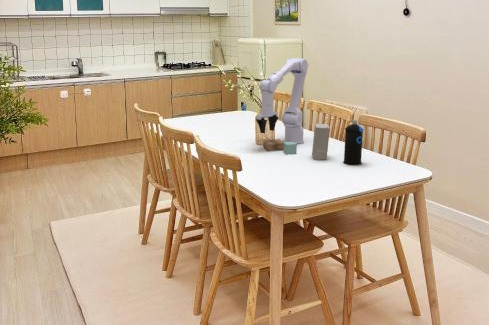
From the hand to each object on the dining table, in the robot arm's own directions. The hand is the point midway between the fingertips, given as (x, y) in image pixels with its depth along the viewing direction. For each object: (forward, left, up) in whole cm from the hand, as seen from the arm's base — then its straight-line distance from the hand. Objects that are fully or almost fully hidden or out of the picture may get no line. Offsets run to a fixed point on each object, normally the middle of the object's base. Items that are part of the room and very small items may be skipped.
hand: (267, 131), depth 262 cm
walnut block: (-4, -1, -10) cm, 10 cm away
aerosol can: (-31, +33, -9) cm, 47 cm away
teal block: (-9, +9, -9) cm, 16 cm away
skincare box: (-20, +21, -9) cm, 31 cm away
